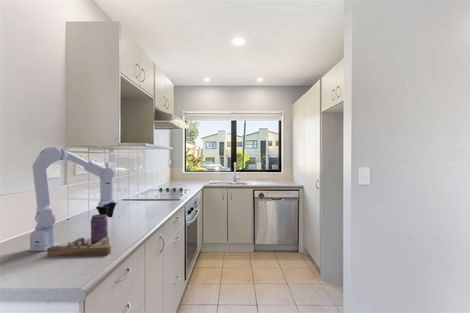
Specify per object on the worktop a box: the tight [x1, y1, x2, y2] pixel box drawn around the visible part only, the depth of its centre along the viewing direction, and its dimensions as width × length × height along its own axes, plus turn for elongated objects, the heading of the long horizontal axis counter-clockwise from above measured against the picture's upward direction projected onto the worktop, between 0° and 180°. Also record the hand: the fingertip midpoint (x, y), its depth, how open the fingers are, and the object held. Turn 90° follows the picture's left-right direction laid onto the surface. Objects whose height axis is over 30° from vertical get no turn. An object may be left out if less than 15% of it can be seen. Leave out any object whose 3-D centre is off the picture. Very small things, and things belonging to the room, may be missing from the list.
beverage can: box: [90, 213, 109, 244], centre depth 136 cm, size 7×7×12 cm
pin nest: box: [46, 237, 112, 257], centre depth 124 cm, size 14×24×5 cm, turn 91°
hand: (106, 218), depth 145 cm, fingers open, 7 cm apart
